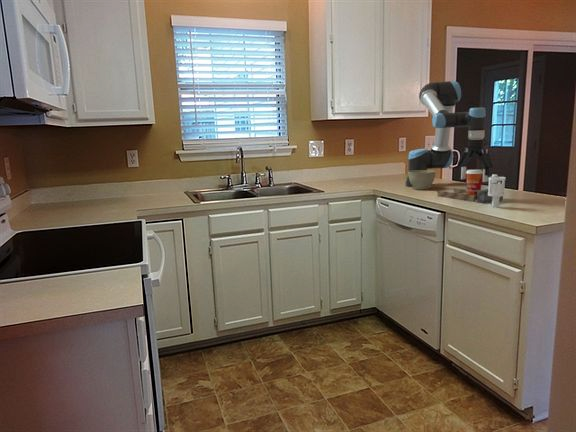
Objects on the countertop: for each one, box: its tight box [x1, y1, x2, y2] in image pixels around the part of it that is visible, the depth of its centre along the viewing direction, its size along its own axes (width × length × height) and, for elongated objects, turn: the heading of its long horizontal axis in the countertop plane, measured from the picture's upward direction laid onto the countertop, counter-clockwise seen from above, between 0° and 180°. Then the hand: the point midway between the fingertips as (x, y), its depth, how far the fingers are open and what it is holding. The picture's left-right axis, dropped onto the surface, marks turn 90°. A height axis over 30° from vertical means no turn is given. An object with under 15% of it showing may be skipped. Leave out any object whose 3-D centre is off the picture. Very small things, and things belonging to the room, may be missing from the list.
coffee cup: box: [466, 169, 483, 201], centre depth 222 cm, size 8×8×15 cm
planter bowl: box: [407, 169, 437, 191], centre depth 263 cm, size 16×16×11 cm
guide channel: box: [437, 187, 504, 205], centre depth 225 cm, size 30×14×6 cm, turn 26°
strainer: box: [487, 174, 506, 208], centre depth 199 cm, size 7×7×15 cm
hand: (473, 180), depth 222 cm, fingers open, 13 cm apart
